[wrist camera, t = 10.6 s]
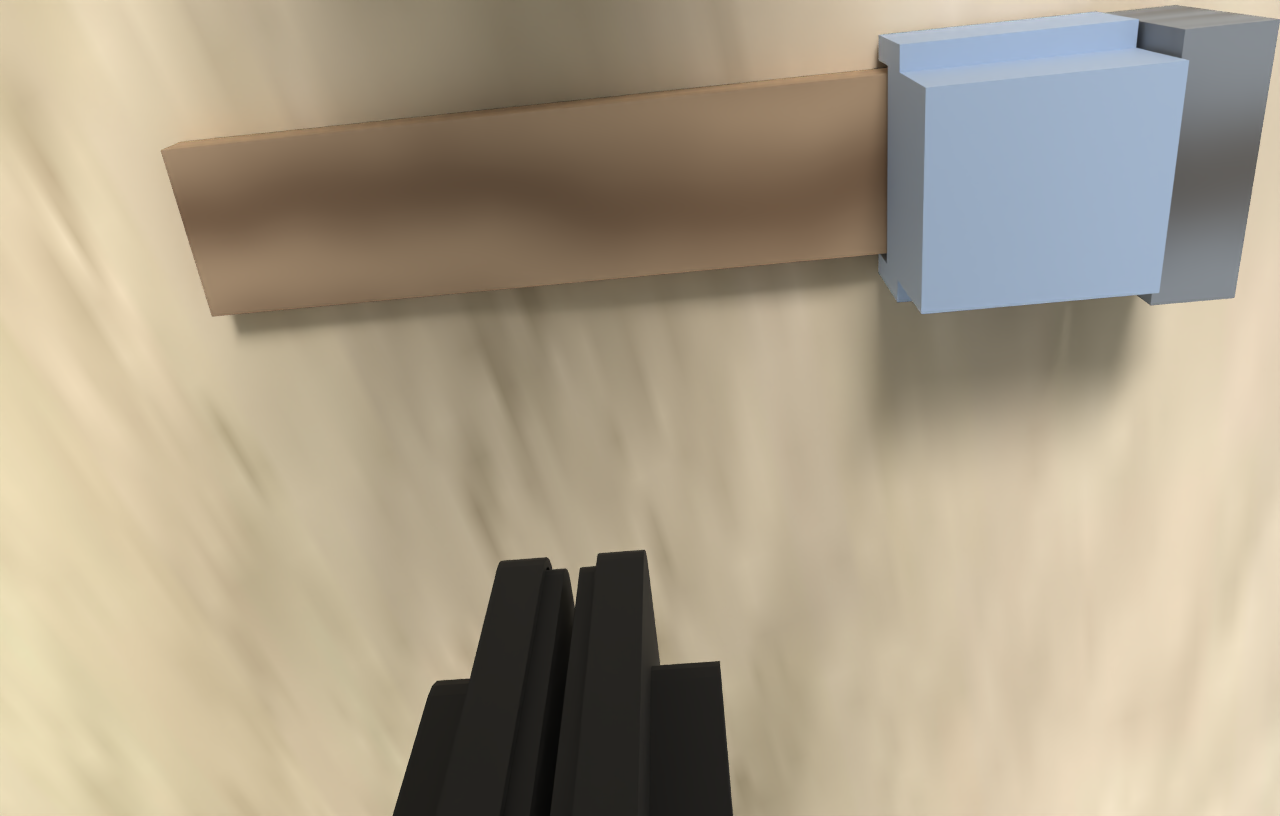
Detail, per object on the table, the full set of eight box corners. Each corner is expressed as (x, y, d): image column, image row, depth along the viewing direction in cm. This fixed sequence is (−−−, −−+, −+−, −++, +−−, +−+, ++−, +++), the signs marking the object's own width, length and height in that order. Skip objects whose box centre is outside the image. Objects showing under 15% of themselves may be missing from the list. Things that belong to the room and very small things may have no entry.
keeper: (878, 34, 32) (926, 56, 27) (1095, 11, 32) (1193, 28, 26) (878, 272, 36) (920, 338, 30) (1074, 254, 36) (1155, 318, 30)
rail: (171, 112, 34) (79, 146, 29) (1176, 5, 32) (1279, 19, 27) (235, 327, 38) (164, 392, 32) (1147, 242, 36) (1234, 297, 30)
